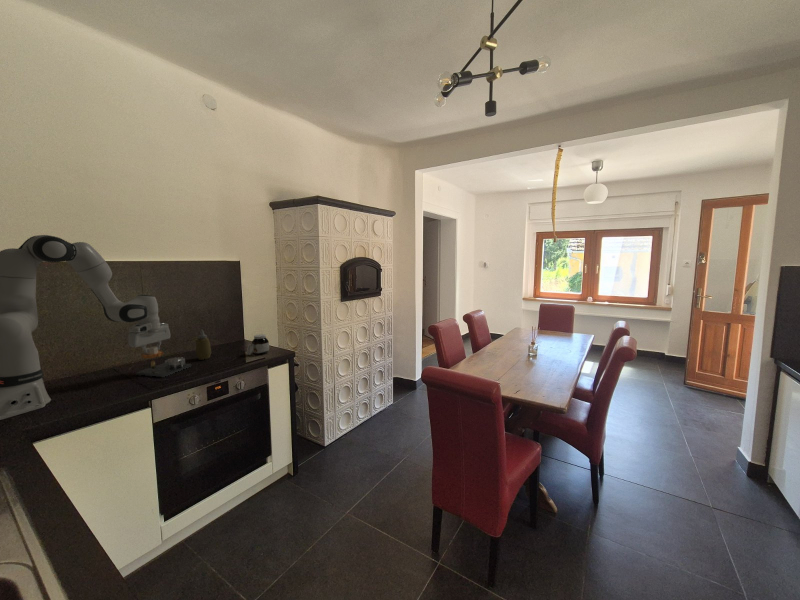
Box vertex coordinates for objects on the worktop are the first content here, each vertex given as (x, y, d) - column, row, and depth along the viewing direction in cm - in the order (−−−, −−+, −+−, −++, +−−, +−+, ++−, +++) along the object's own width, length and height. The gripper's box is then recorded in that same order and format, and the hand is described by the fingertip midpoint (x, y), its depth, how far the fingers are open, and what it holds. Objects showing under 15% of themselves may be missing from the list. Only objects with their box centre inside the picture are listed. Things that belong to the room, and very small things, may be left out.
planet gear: (151, 359, 165) (150, 350, 164) (137, 358, 167) (136, 349, 166) (167, 354, 174) (166, 345, 173) (154, 353, 176) (153, 345, 175)
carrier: (163, 377, 164) (162, 365, 163) (136, 375, 168) (135, 362, 167) (191, 366, 181) (190, 355, 180) (166, 364, 184) (165, 353, 183)
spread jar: (271, 352, 209) (270, 334, 207) (257, 357, 198) (256, 338, 197) (257, 350, 213) (256, 333, 212) (243, 355, 203) (242, 336, 202)
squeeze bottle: (193, 359, 195) (191, 329, 193) (208, 355, 201) (205, 327, 199) (200, 361, 190) (197, 331, 188) (214, 358, 197) (212, 329, 195)
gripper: (163, 321, 179) (165, 345, 181) (124, 329, 159) (127, 356, 161) (172, 321, 178) (174, 346, 179) (134, 329, 158) (137, 357, 160)
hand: (152, 351), depth 170 cm, fingers closed on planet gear, 5 cm apart
